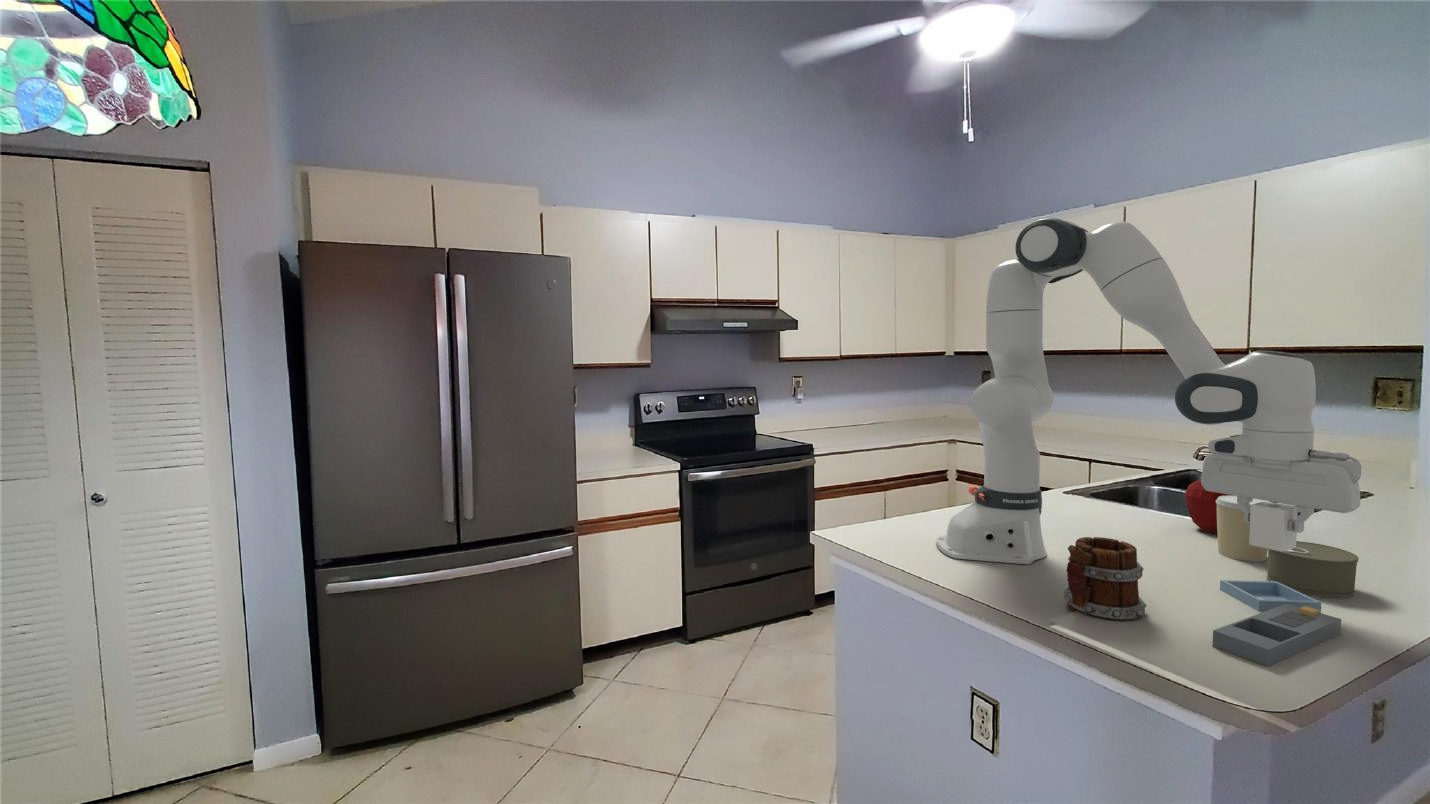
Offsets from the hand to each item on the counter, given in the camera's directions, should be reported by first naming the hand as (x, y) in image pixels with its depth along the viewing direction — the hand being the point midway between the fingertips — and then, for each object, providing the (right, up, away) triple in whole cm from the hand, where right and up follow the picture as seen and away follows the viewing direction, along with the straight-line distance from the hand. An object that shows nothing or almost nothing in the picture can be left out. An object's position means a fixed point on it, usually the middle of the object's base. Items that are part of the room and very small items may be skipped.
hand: (1272, 527), depth 103 cm
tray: (0, -14, +1) cm, 14 cm away
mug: (-30, -15, -1) cm, 34 cm away
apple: (+26, -10, +43) cm, 51 cm away
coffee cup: (+17, -12, +26) cm, 34 cm away
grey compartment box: (-9, -15, -12) cm, 21 cm away
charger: (0, -3, 0) cm, 3 cm away
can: (+15, -13, +9) cm, 22 cm away
